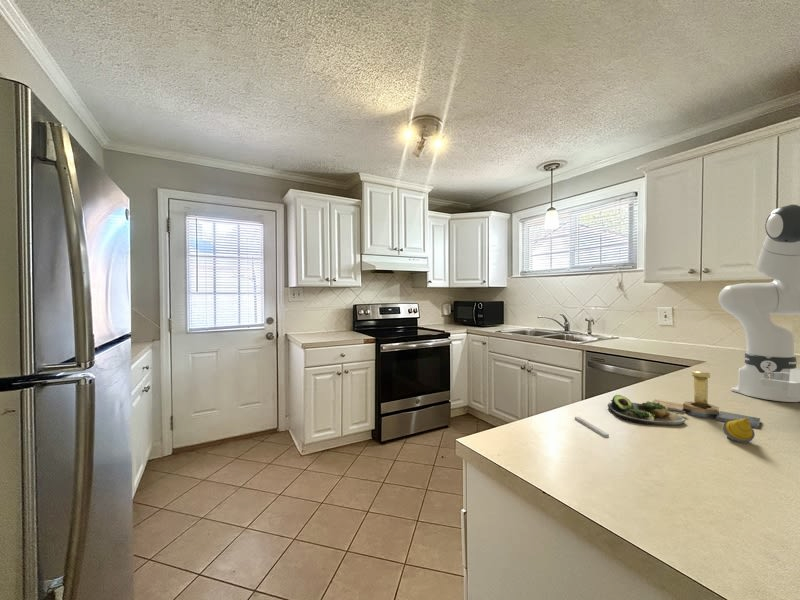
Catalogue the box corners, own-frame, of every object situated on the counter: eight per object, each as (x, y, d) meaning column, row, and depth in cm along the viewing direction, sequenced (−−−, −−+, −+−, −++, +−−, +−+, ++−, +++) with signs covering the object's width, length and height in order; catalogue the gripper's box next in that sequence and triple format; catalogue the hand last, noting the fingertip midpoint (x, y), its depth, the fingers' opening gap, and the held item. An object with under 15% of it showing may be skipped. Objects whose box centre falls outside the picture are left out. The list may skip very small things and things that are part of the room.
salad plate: (671, 409, 104) (670, 394, 104) (707, 430, 87) (707, 413, 87) (601, 404, 109) (601, 390, 109) (622, 424, 92) (622, 407, 92)
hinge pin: (693, 410, 101) (693, 370, 101) (711, 414, 98) (711, 372, 98) (690, 413, 99) (690, 372, 99) (709, 417, 96) (708, 374, 96)
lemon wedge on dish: (755, 441, 80) (771, 423, 74) (734, 451, 80) (749, 433, 74) (732, 422, 84) (746, 403, 78) (713, 431, 84) (725, 413, 78)
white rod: (608, 438, 83) (608, 434, 83) (604, 438, 83) (604, 434, 83) (578, 420, 95) (578, 416, 95) (574, 420, 95) (574, 416, 95)
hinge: (655, 402, 110) (655, 394, 110) (760, 421, 92) (760, 412, 92) (649, 406, 105) (648, 399, 105) (758, 428, 87) (758, 419, 87)
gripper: (845, 368, 86) (765, 360, 96) (853, 384, 73) (759, 372, 83) (845, 392, 86) (765, 382, 96) (852, 413, 73) (759, 398, 83)
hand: (762, 377), depth 90 cm, fingers open, 8 cm apart
